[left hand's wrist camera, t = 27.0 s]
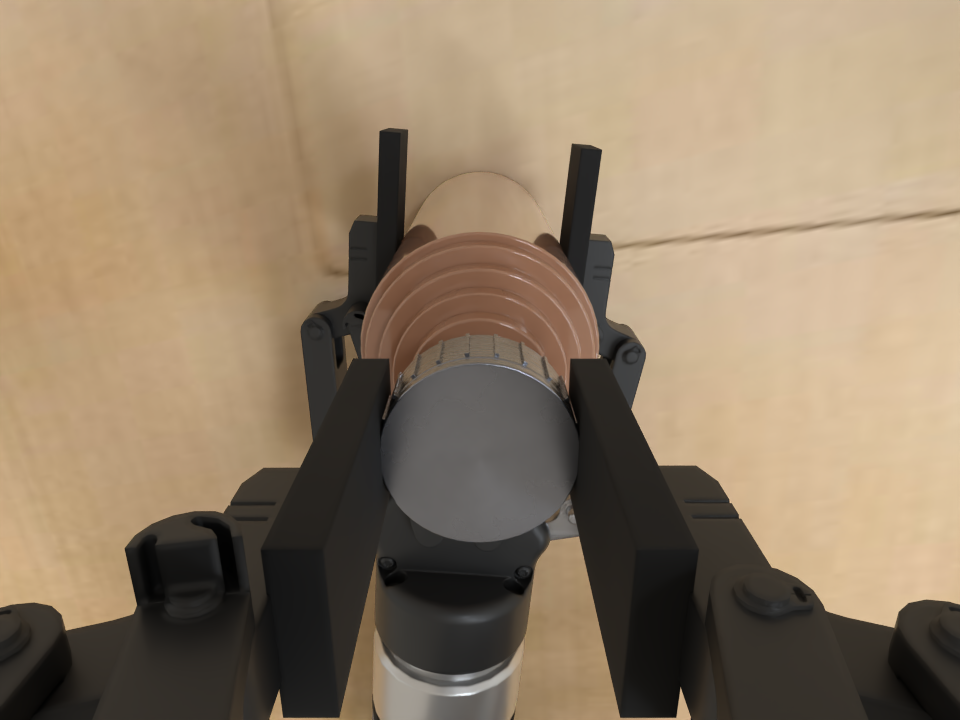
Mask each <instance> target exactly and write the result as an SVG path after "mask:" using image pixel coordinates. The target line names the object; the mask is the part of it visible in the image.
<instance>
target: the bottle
mask: <svg viewBox="0 0 960 720" xmlns="http://www.w3.org/2000/svg"><path fill="white" fill-rule="evenodd" d="M466 333H470V335H492V336H494V334H498V337H503V338H507V339H510V340H514V341H516V342H518V343H520V342H521V341H522V342H524V344H525V346H527V347H529V348H530V349H532V350H533V351H535V352H537V353H538V354H539V355H540V356H542V357H543V356H545V357H547V361H548V363H549V364H550V365H551V366H552V367H553V368H554V370H555V371H556V373H557V374H558V375H559V376H560V375H562V377H563V379H564V382H565V385H566V389H567V392H568V394H569V374H570V359H598V355H599V333H598V326H597V320H596V317H595V314H594V310H593V307H592V304H591V302H590V300H589V298H588V296H587V294H586V292H585V290H584V288H583V286H582V284H581V283H580V281H579V279H578V277H577V275H576V273H575V272H574V270H573V268H572V266H571V264H570V263H569V261H568V259H567V257H566V255H565V253H564V252H563V250H562V248H561V246H560V244H559V242H558V241H557V239H556V237H555V235H554V233H553V232H552V230H551V228H550V226H549V224H548V222H547V221H546V219H545V217H544V215H543V213H542V212H541V210H540V208H539V206H538V205H537V203H536V201H535V200H534V198H533V197H532V196H531V195H530V194H529V193H528V191H526V190H525V189H524V188H523V187H522V186H521V185H519V184H518V183H516V182H515V181H513V180H511V179H509V178H507V177H505V176H502V175H499V174H495V173H490V172H470V173H465V174H461V175H458V176H455V177H453V178H451V179H449V180H447V181H445V182H444V183H442V184H441V185H439V186H438V187H437V188H436V189H435V190H434V191H432V192H431V193H430V195H429V196H428V197H427V198H426V200H425V201H424V203H423V204H422V206H421V208H420V209H419V211H418V213H417V215H416V217H415V219H414V220H413V222H412V224H411V226H410V228H409V229H408V231H407V233H406V235H405V237H404V239H403V240H402V242H401V244H400V246H399V248H398V249H397V251H396V253H395V255H394V257H393V259H392V260H391V262H390V264H389V266H388V268H387V269H386V271H385V273H384V275H383V277H382V278H381V280H380V282H379V284H378V286H377V288H376V289H375V291H374V293H373V295H372V297H371V300H370V302H369V304H368V306H367V309H366V313H365V316H364V320H363V324H362V331H361V357H362V359H389V363H390V383H391V395H392V393H393V390H394V388H395V384H396V381H397V378H398V374H399V373H400V372H401V373H403V372H404V371H405V369H406V368H407V367H408V366H409V365H410V363H411V362H412V361H414V360H415V356H416V355H417V354H418V353H419V354H422V353H423V352H425V351H426V350H428V349H429V348H431V347H433V346H435V345H437V344H438V343H439V341H440V340H443V342H444V341H446V340H449V339H452V338H457V337H461V336H466Z"/></svg>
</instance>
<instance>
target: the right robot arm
mask: <svg viewBox="0 0 960 720" xmlns="http://www.w3.org/2000/svg"><path fill="white" fill-rule="evenodd" d="M407 143H408V130H406V129H394V128H388V129H385V130H381V131H380V136H379V173H378V210H377V216H369V215H360V216H359V217H358V218H357V219H356V220H355V221H354V223H353V225H352V228H351V230H350V232H349V285H348V296H347V297H345V298H343V299H339V300H336V301H332V302H331V301H323V302H321V303H319V304H318V305H317V306H316V307H315V309H314V310H313V311H312V312H311V314H310V315H309V316H308V317H307V319H306V320H305V321H304V323H303V324H302V326H301V338H302V347H303V356H304V365H305V374H306V383H307V392H308V400H309V409H310V418H311V427H312V436H313V441H314V438H315V436H316V434H317V432H318V430H319V428H320V426H321V424H322V422H323V420H324V418H325V416H326V414H327V412H328V410H329V408H330V406H331V404H332V401H333V399H334V397H335V395H336V393H337V391H338V389H339V387H340V385H341V383H342V381H343V379H344V377H345V375H346V373H347V363H346V352H345V341H344V336H346V335H349V334H350V335H351V338H352V341H353V344H354V346H355V349H356V352H357V355H358V358H359V359H362V357H361V331H362V324H363V320H364V316H365V313H366V309H367V306H368V304H369V302H370V300H371V297H372V295H373V293H374V291H375V289H376V288H377V286H378V284H379V282H380V280H381V278H382V277H383V275H384V273H385V271H386V269H387V268H388V266H389V264H390V262H391V260H392V259H393V257H394V255H395V253H396V251H397V249H398V248H399V246H400V244H401V242H402V240H403V239H404V216H405V192H406V168H407ZM601 154H602V150H601V149H599V148H596V147H594V146H591V145H582V144H572V147H571V155H570V163H569V172H568V180H567V188H566V196H565V204H564V212H563V220H562V228H561V236H560V246H561V248H562V250H563V252H564V253H565V255H566V257H567V259H568V261H569V263H570V264H571V266H572V268H573V270H574V272H575V273H576V275H577V277H578V279H579V281H580V283H581V284H582V286H583V288H584V290H585V292H586V294H587V296H588V298H589V300H590V302H591V304H592V307H593V310H594V314H595V317H596V320H597V326H598V333H599V355H601V357H600V359H607V361H608V363H609V365H610V367H611V370H612V372H613V374H614V376H615V378H616V380H617V382H618V384H619V386H620V388H621V390H622V392H623V394H624V396H625V398H626V400H627V402H628V404H629V407H630V409H631V408H632V405H633V401H634V398H635V394H636V390H637V387H638V383H639V380H640V376H641V373H642V369H643V366H644V362H645V358H646V352H645V350H644V348H643V346H642V344H641V343H640V341H639V340H638V338H637V337H636V335H635V334H634V332H633V331H632V329H631V328H630V327H629V326H627V325H624V324H617V323H615V322H613V321H611V320H609V319H607V318H606V306H607V300H608V293H609V287H610V279H611V274H612V267H613V260H614V251H613V247H612V243H611V241H610V240H609V239H608V238H607V237H606V235H600V234H590V233H591V226H592V218H593V211H594V204H595V197H596V190H597V182H598V175H599V168H600V161H601ZM578 536H579V533H578V529H577V524H576V520H575V515H574V511H573V506H572V502H571V498H570V494H569V496H568V498H567V499H566V501H565V502H564V503H563V504H562V506H561V507H560V508H559V509H558V510H557V511H556V512H555V513H554V514H553V515H552V516H551V517H550V518H549V519H547V520H546V521H545V522H544V523H542V524H541V525H539V526H537V527H536V528H534V529H532V530H531V531H528V532H526V533H524V534H522V535H519V536H516V537H513V538H510V539H506V540H501V541H496V542H484V543H479V542H465V541H458V540H454V539H450V538H446V537H443V536H441V535H438V534H435V533H433V532H431V531H429V530H427V529H425V528H424V527H422V526H420V525H419V524H418V523H416V522H415V521H413V520H412V519H411V518H410V517H409V516H407V515H406V514H405V513H404V512H403V511H402V510H401V508H400V507H399V506H398V505H397V504H396V503H395V501H394V500H393V498H392V497H391V495H390V496H389V500H388V505H387V509H386V513H385V518H384V522H383V527H382V531H381V536H380V540H379V544H378V549H377V553H376V556H377V560H376V590H375V625H376V628H375V632H374V649H373V695H372V702H373V717H372V720H514V715H515V708H516V703H517V699H518V692H519V684H520V677H521V669H522V662H523V654H524V642H525V638H524V636H525V634H526V629H527V622H528V615H529V607H530V600H531V592H532V585H533V577H534V570H535V565H536V562H537V560H538V559H539V557H540V556H541V554H542V553H543V552H544V551H545V550H546V548H547V547H548V545H549V542H550V541H551V540H558V539H564V538H571V537H578Z"/></svg>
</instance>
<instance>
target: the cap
mask: <svg viewBox="0 0 960 720" xmlns="http://www.w3.org/2000/svg"><path fill="white" fill-rule="evenodd" d="M382 422H383V427H382V430H381V434H380V446H381V463H382V477H383V481H384V483H385V486H386V488H387V490H388V492H389V494H390V495H391V497H392V498H393V500H394V501H395V503H396V504H397V505H398V506H399V507H400V508H401V510H402V511H403V512H404V513H405V514H406V515H407V516H409V517H410V518H411V519H412V520H413V521H415V522H416V523H418V524H419V525H420V526H422V527H424V528H425V529H427V530H429V531H431V532H433V533H435V534H438V535H441V536H443V537H446V538H450V539H454V540H458V541H465V542H479V543H484V542H496V541H501V540H506V539H510V538H513V537H516V536H519V535H522V534H524V533H526V532H528V531H531V530H532V529H534V528H536V527H537V526H539V525H541V524H542V523H544V522H545V521H546V520H547V519H549V518H550V517H551V516H552V515H553V514H554V513H555V512H556V511H557V510H558V509H559V508H560V507H561V506H562V504H563V503H564V502H565V501H566V499H567V498H568V496H569V494H570V493H571V491H572V489H573V487H574V485H575V482H576V480H577V473H578V456H579V431H578V427H577V421H576V417H575V414H574V411H573V407H572V404H571V401H570V398H569V396H568V392H567V389H566V385H565V382H564V379H563V377H562V375H560V376H559V375H558V374H557V373H556V371H555V370H554V368H553V367H552V366H551V365H550V364H549V363H548V361H547V357H545V356H543V357H542V356H540V355H539V354H538V353H537V352H535V351H533V350H532V349H530V348H529V347H527V346H525V344H524V342H522V341H521V342H520V343H518V342H516V341H514V340H510V339H507V338H503V337H498V334H494V336H492V335H470V333H466V336H461V337H457V338H452V339H449V340H446V341H444V342H443V340H440V341H439V343H438V344H437V345H435V346H433V347H431V348H429V349H428V350H426V351H425V352H423V353H422V354H419V353H418V354H417V355H416V356H415V360H414V361H412V362H411V363H410V365H409V366H408V367H407V368H406V369H405V371H404V372H403V373H401V372H400V373H399V374H398V378H397V381H396V384H395V388H394V390H393V393H392V395H389V398H388V401H387V405H386V408H385V411H384V415H383V418H382Z"/></svg>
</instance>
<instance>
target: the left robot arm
mask: <svg viewBox="0 0 960 720" xmlns="http://www.w3.org/2000/svg"><path fill="white" fill-rule="evenodd" d="M389 395H391V383H390V363H389V359H353V360H352V362H351V364H350V367H349V369H348V371H347V373H346V375H345V377H344V379H343V381H342V383H341V385H340V387H339V389H338V391H337V393H336V395H335V397H334V399H333V401H332V404H331V406H330V408H329V410H328V412H327V414H326V416H325V418H324V420H323V422H322V424H321V426H320V428H319V430H318V432H317V434H316V436H315V438H314V441H313V443H312V445H311V447H310V449H309V451H308V453H307V455H306V457H305V459H304V461H303V463H302V465H301V467H300V468H263V469H261V470H260V471H259V472H257V473H256V474H255V475H253V476H252V477H250V478H249V479H248V480H246V481H245V482H243V483H242V484H241V486H240V488H239V489H238V491H237V492H236V494H235V496H234V497H233V499H232V500H231V505H230V506H228V507H227V509H226V510H225V512H224V513H219V512H216V511H194V512H189V513H184V514H179V515H174V516H171V517H168V518H166V519H163V520H161V521H158V522H156V523H153V524H151V525H150V526H148V527H147V528H145V529H144V530H142V531H141V532H139V533H138V534H136V535H135V536H134V537H133V539H132V540H131V541H130V542H129V544H128V545H127V546H126V547H125V552H126V557H127V561H128V566H129V570H130V575H131V580H132V584H133V589H134V593H135V598H136V602H137V607H136V610H135V612H134V614H133V615H130V616H127V617H123V618H120V619H116V620H113V621H108V622H104V623H99V624H95V625H90V626H85V627H81V628H76V629H72V630H67V631H66V630H65V626H64V623H63V619H62V615H61V614H60V613H59V612H58V611H56V610H55V609H54V608H53V607H52V606H48V605H43V604H38V603H25V604H15V605H9V606H6V607H2V608H0V720H269V718H270V715H271V712H272V709H273V706H274V703H275V700H276V697H277V694H278V691H279V689H280V697H281V704H282V711H283V718H339V716H340V712H341V707H342V703H343V699H344V694H345V690H346V685H347V681H348V677H349V672H350V668H351V663H352V659H353V655H354V650H355V646H356V641H357V637H358V632H359V628H360V624H361V619H362V615H363V610H364V606H365V602H366V597H367V593H368V588H369V584H370V580H371V575H372V571H373V566H374V562H375V558H376V553H377V549H378V544H379V540H380V536H381V531H382V527H383V522H384V518H385V513H386V509H387V505H388V500H389V496H390V494H389V492H388V490H387V488H386V486H385V483H384V481H383V477H382V463H381V446H380V434H381V430H382V427H383V422H382V418H383V415H384V411H385V408H386V405H387V401H388V398H389ZM568 396H569V398H570V401H571V404H572V407H573V411H574V414H575V417H576V421H577V427H578V431H579V456H578V473H577V480H576V482H575V485H574V487H573V489H572V491H571V493H570V498H571V502H572V506H573V511H574V515H575V520H576V524H577V529H578V533H579V537H580V542H581V546H582V551H583V555H584V559H585V564H586V568H587V573H588V577H589V581H590V586H591V590H592V595H593V599H594V603H595V608H596V612H597V617H598V621H599V626H600V630H601V634H602V639H603V643H604V648H605V652H606V656H607V661H608V665H609V670H610V674H611V678H612V683H613V687H614V692H615V696H616V700H617V705H618V709H619V714H620V718H676V716H677V708H678V701H679V694H680V686H681V689H682V692H683V695H684V698H685V701H686V704H687V707H688V710H689V713H690V715H691V720H960V605H959V604H955V603H951V602H946V601H935V600H922V601H917V602H912V603H908V604H907V605H906V606H905V607H904V608H903V609H902V610H900V611H899V613H898V617H897V621H896V624H895V628H892V627H888V626H883V625H878V624H874V623H869V622H865V621H860V620H855V619H851V618H847V617H843V616H840V615H836V614H833V613H829V612H827V611H825V609H824V606H823V604H822V603H821V601H820V600H819V598H818V597H817V595H816V594H815V592H814V591H813V590H812V589H811V588H809V587H808V586H807V585H805V584H804V583H803V582H802V581H800V580H799V579H798V578H796V577H794V576H792V575H789V574H787V573H785V572H783V571H780V570H778V569H775V568H772V567H771V566H770V564H769V563H768V561H767V559H766V558H765V556H764V555H763V553H762V551H761V550H760V548H759V547H758V545H757V543H756V542H755V540H754V539H753V537H752V535H751V534H750V532H749V531H748V529H747V527H746V526H745V524H744V523H743V521H742V519H739V514H738V513H737V511H736V510H735V508H734V506H733V505H732V503H729V498H728V497H727V495H726V494H725V492H724V490H723V489H722V487H721V486H720V484H719V482H718V481H717V480H715V479H714V478H712V477H711V476H710V475H708V474H707V473H706V472H704V471H703V470H701V469H700V468H699V467H697V466H658V464H657V462H656V460H655V458H654V456H653V454H652V452H651V450H650V448H649V446H648V444H647V441H646V439H645V437H644V435H643V433H642V431H641V429H640V427H639V425H638V423H637V421H636V419H635V417H634V415H633V413H632V411H631V409H630V407H629V404H628V402H627V400H626V398H625V396H624V394H623V392H622V390H621V388H620V386H619V384H618V382H617V380H616V378H615V376H614V374H613V372H612V370H611V367H610V365H609V363H608V361H607V359H570V374H569V394H568Z"/></svg>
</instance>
